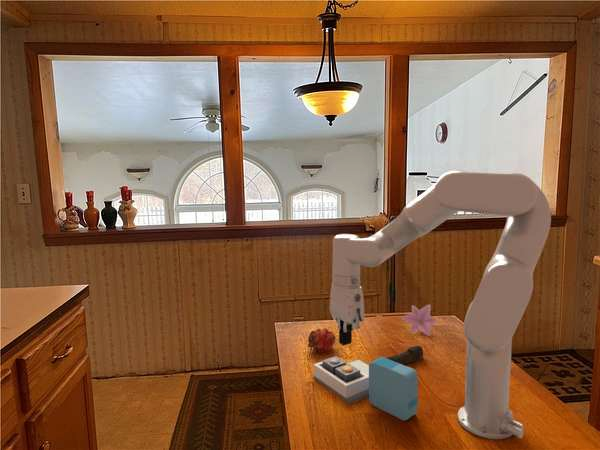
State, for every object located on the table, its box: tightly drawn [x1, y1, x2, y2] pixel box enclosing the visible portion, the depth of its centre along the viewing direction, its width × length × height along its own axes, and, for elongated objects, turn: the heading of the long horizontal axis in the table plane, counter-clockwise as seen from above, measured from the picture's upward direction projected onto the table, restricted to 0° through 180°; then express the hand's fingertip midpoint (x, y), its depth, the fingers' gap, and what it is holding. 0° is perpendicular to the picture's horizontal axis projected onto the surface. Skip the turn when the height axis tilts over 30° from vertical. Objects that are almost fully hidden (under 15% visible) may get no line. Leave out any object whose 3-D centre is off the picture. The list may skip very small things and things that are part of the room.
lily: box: [401, 304, 439, 337], centre depth 155 cm, size 12×12×10 cm
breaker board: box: [312, 358, 369, 405], centre depth 119 cm, size 17×18×4 cm
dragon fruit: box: [307, 328, 337, 354], centre depth 140 cm, size 8×8×12 cm
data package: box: [368, 356, 419, 421], centre depth 104 cm, size 12×4×12 cm, turn 42°
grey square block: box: [322, 355, 348, 375], centre depth 119 cm, size 5×5×3 cm
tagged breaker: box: [335, 364, 360, 383], centre depth 114 cm, size 5×5×3 cm
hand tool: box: [385, 345, 424, 365], centre depth 128 cm, size 19×4×5 cm, turn 117°
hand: (345, 343), depth 113 cm, fingers closed
